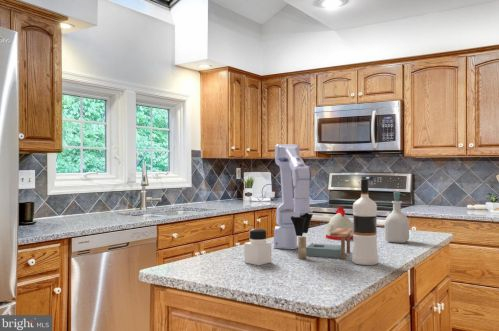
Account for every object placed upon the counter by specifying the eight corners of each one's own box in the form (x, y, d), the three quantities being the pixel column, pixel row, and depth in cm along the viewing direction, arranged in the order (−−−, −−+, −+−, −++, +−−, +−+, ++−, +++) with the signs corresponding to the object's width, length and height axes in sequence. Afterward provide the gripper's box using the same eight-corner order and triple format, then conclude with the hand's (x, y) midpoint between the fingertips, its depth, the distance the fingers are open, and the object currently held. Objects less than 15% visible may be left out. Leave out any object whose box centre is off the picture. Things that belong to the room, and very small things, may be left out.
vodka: (349, 260, 159) (348, 178, 159) (374, 260, 159) (374, 178, 159) (355, 266, 149) (354, 179, 149) (381, 265, 149) (381, 179, 149)
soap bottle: (406, 244, 190) (405, 192, 190) (383, 242, 195) (383, 191, 195) (409, 240, 198) (409, 191, 198) (388, 239, 203) (388, 190, 203)
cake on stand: (333, 240, 200) (332, 208, 200) (321, 236, 213) (321, 205, 213) (360, 239, 203) (360, 207, 203) (347, 234, 216) (347, 205, 216)
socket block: (305, 255, 167) (305, 247, 167) (312, 250, 177) (312, 243, 177) (339, 257, 162) (339, 250, 162) (344, 252, 172) (344, 245, 172)
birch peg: (297, 258, 161) (297, 237, 161) (299, 257, 164) (299, 236, 164) (304, 259, 160) (304, 237, 160) (307, 257, 163) (306, 236, 163)
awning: (330, 258, 162) (330, 233, 162) (337, 251, 175) (337, 227, 175) (346, 259, 159) (346, 233, 159) (352, 252, 172) (352, 228, 172)
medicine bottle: (271, 262, 156) (271, 229, 156) (258, 265, 150) (258, 231, 150) (257, 259, 161) (257, 227, 161) (243, 262, 155) (243, 229, 155)
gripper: (307, 199, 154) (307, 237, 154) (316, 197, 167) (317, 232, 167) (288, 199, 157) (288, 236, 157) (299, 196, 170) (299, 231, 170)
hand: (302, 234), depth 162 cm, fingers open, 7 cm apart
